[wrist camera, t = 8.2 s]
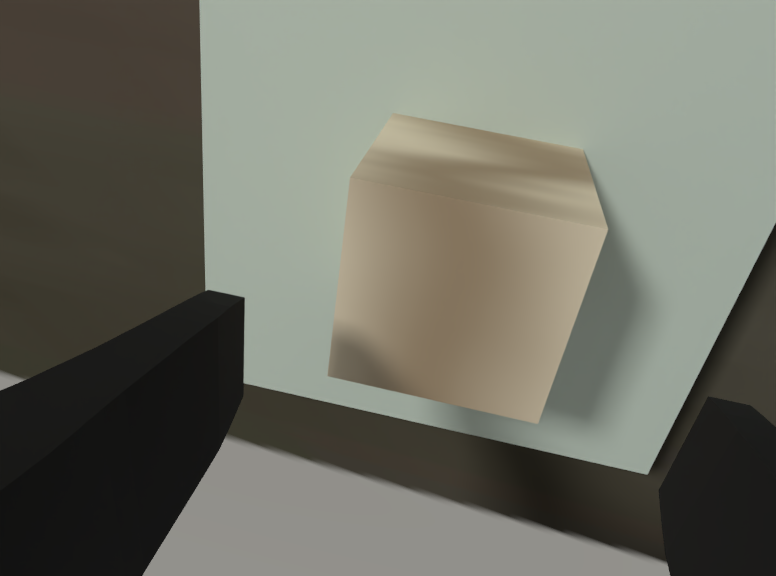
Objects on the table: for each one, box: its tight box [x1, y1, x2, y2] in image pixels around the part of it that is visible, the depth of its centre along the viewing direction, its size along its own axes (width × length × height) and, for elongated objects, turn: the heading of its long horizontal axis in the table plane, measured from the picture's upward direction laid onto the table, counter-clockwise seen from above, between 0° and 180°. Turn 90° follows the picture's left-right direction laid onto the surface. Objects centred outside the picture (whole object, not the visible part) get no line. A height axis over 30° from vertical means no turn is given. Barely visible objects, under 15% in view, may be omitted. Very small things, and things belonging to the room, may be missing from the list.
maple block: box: [327, 113, 608, 424], centre depth 14 cm, size 4×4×4 cm
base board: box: [200, 0, 776, 475], centre depth 17 cm, size 14×14×2 cm
